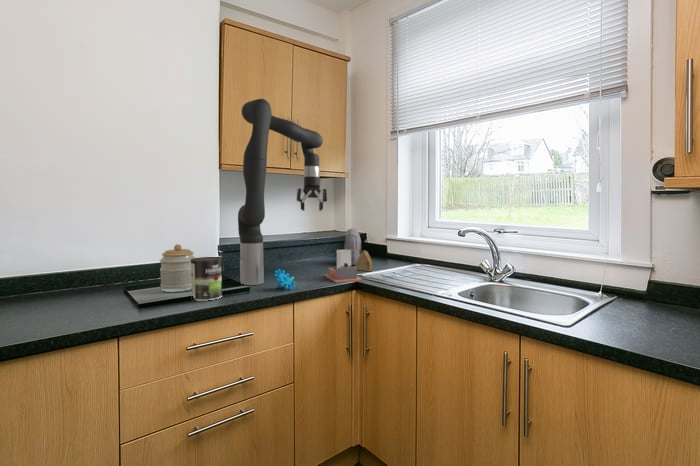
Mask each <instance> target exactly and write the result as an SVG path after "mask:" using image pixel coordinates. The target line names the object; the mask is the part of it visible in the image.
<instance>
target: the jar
mask: <svg viewBox="0 0 700 466" xmlns="http://www.w3.org/2000/svg"><path fill="white" fill-rule="evenodd" d="M161 256H162V257H161V259H159V262H160V265H161V267H160V268H159V271H160V289H161V288H163V289H186V288H191V287H192V277H191V259H193V258H196V257H195V256H194V251H192V250H190V249H189V248H187V249H185V248H182V245H181V244H179V243H178V244H175V245H174V247H173V249H169V250H165V252H163V253H161Z"/></svg>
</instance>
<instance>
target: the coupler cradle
mask: <svg viewBox="0 0 700 466" xmlns="http://www.w3.org/2000/svg"><path fill="white" fill-rule="evenodd" d="M324 277H326V278H327V279H328V280H330V281H332V282H333V283H335V284H341V283H351V282H352V283H355V282H363V278H361V277H359V276H358V270H357V267H355V266H351V267H346V268H338V271H337V269H334V268H333V267H329V268H328V273H325V274H324Z"/></svg>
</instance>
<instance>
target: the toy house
mask: <svg viewBox="0 0 700 466" xmlns="http://www.w3.org/2000/svg"><path fill="white" fill-rule="evenodd" d="M354 267H357V271H365V272H373V271H374V269H373V268H374V266H373V261H372V258H371V255H370V254H369V251H367V250H365V249H363V250H362V251H361V255H360V256H359V258H358V260H357V262H356V264H355V265H354Z"/></svg>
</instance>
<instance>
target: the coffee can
mask: <svg viewBox="0 0 700 466" xmlns="http://www.w3.org/2000/svg"><path fill="white" fill-rule="evenodd" d="M222 259H223V258H222V257H220V256H201V257H199V256H198V257H195V258H193V259H191V277H192V290H191V297H192V296H193V298H194V300H196V301H195V302H209V301H208V300H213V301H216V300H215V299H217V300H220V299H222V298H223V282H222V281H223V279H222V278H223V276H222ZM221 297H222V298H221ZM219 298H220V299H219ZM194 300H193V301H194Z"/></svg>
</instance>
